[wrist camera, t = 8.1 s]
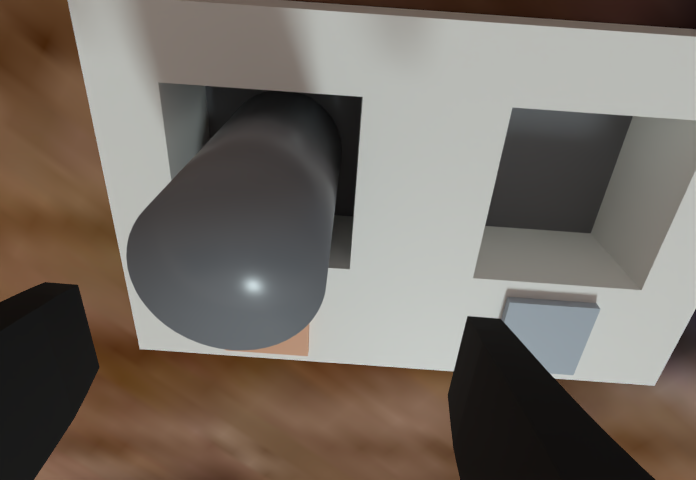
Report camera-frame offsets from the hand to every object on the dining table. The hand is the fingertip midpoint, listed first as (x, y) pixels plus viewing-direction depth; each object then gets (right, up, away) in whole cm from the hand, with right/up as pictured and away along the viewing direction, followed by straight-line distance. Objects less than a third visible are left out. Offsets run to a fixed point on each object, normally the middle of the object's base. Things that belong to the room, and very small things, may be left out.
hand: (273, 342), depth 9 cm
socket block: (+4, +4, +8) cm, 10 cm away
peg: (-1, +5, +8) cm, 9 cm away
